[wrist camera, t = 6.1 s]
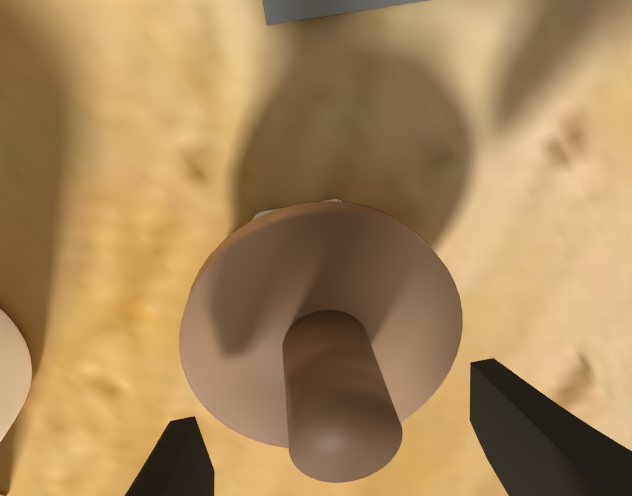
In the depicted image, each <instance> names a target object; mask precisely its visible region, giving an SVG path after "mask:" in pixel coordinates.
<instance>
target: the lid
mask: <svg viewBox="0 0 632 496" xmlns="http://www.w3.org/2000/svg"><path fill="white" fill-rule="evenodd" d="M461 333H462V308H461V302H460V296H459V293H458V291H457V288H456V285H455V282H454V280H453V278H452V276H451V274H450V273H449V271H448V269H447V267H446V266H445V265H444V263H443V262H442V261H441V260H440V258H439V257H438V256H437V254H436V253H435V252H434V251H433V250H432V249H431V248H430V246H429V245H428V244H427V243H426V242H425V241H424V240H423V239H422V238H421V237H420V236H419V235H418V234H417V233H416V232H415V231H414V230H413V229H411V228H410V227H408V226H407V225H406V224H404V223H403V222H401V221H400V220H398V219H396V218H394V217H392V216H390V215H388V214H386V213H384V212H382V211H379V210H376V209H373V208H370V207H367V206H363V205H358V204H353V203H348V202H334V201H322V202H308V203H302V204H297V205H292V206H287V207H284V208H281V209H278V210H275V211H272V212H269V213H267V214H265V215H263V216H260V217H258V218H256V219H254V220H252V221H250V222H249V223H247V224H246V225H244V226H242V227H241V228H239V229H238V230H236V231H235V232H234V233H232V234H231V235H230V236H229V237H228V238H226V239H225V240H224V241H223V242H222V243H221V244H220V245H219V246H218V247H217V248H216V249H215V250H214V251H213V252H212V254H211V255H210V256H209V257H208V259H207V260H206V262H205V263H204V264H203V266H202V267H201V269H200V270H199V272H198V274H197V276H196V279H195V281H194V283H193V285H192V287H191V291H190V294H189V297H188V300H187V304H186V307H185V310H184V313H183V317H182V320H181V327H180V334H179V347H180V357H181V362H182V367H183V370H184V373H185V376H186V378H187V381H188V383H189V385H190V387H191V389H192V390H193V392H194V394H195V396H196V397H197V398H198V399H199V401H200V402H201V403H202V405H203V406H204V407H205V408H206V409H207V410H208V411H209V412H210V413H211V414H212V415H213V416H214V417H215V418H216V419H218V420H219V421H220V422H222V423H223V424H224V425H226V426H227V427H229V428H230V429H232V430H234V431H236V432H238V433H239V434H241V435H243V436H246V437H248V438H251V439H253V440H255V441H259V442H262V443H266V444H269V445H273V446H279V447H284V448H289V453H290V457H291V459H292V461H293V463H294V464H295V466H296V467H297V468H298V469H299V470H300V471H301V472H303V473H304V474H305V475H307V476H309V477H311V478H314V479H316V480H320V481H325V482H335V483H338V482H349V481H354V480H358V479H361V478H364V477H367V476H369V475H371V474H373V473H375V472H377V471H378V470H380V469H382V468H383V467H384V466H385V465H387V464H388V463H389V462H390V461H391V460H392V458H393V457H394V456H395V455H396V453H397V451H398V450H399V447H400V445H401V441H402V427H401V423H400V422H402V421H403V420H405V419H406V418H408V417H409V416H411V415H412V414H413V413H414V412H415V411H417V410H418V409H419V408H420V407H421V406H422V405H423V404H424V403H425V402H426V401H427V400H428V399H429V398H430V397H431V396H432V395H433V394H434V393H435V391H436V390H437V389H438V388H439V386H440V385H441V384H442V382H443V381H444V379H445V377H446V376H447V374H448V373H449V371H450V369H451V367H452V364H453V362H454V360H455V358H456V355H457V352H458V348H459V345H460V341H461Z"/></svg>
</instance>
